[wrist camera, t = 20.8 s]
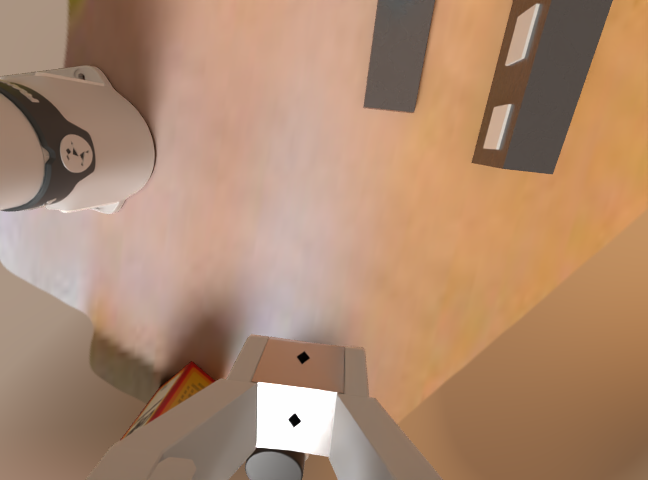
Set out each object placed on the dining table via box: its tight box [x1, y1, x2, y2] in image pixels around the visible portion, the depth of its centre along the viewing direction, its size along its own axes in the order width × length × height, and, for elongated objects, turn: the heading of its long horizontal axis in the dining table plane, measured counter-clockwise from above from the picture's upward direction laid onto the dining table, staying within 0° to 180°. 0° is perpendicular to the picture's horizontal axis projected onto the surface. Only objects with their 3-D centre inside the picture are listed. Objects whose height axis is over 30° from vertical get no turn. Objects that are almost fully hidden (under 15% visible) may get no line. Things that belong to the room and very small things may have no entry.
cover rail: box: [363, 0, 435, 113], centre depth 34 cm, size 6×14×1 cm, turn 174°
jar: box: [245, 447, 309, 480], centre depth 47 cm, size 9×8×12 cm
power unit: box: [472, 0, 613, 174], centre depth 31 cm, size 5×18×8 cm, turn 174°
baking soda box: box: [120, 361, 215, 440], centre depth 46 cm, size 10×6×16 cm
